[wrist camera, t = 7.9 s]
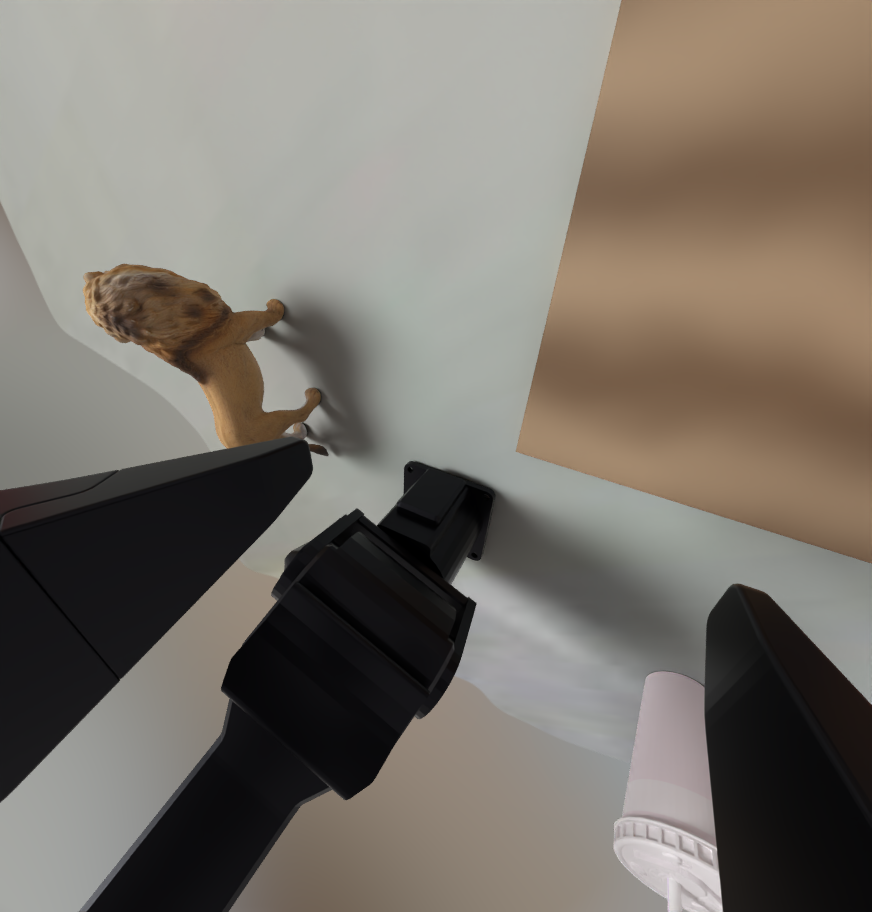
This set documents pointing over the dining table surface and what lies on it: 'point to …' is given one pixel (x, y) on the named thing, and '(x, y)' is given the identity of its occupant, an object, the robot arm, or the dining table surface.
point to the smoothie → (671, 798)
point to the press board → (723, 270)
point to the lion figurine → (198, 345)
